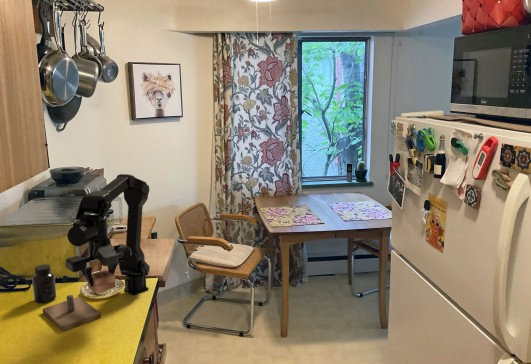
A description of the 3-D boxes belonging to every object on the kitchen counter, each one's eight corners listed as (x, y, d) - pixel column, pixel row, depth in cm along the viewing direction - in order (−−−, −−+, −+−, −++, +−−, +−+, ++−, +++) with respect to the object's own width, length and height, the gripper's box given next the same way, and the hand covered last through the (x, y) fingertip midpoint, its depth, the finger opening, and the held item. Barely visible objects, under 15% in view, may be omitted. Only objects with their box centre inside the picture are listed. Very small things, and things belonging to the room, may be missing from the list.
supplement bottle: (30, 301, 152) (26, 268, 150) (47, 293, 158) (44, 261, 156) (43, 306, 149) (39, 272, 147) (61, 297, 155) (57, 265, 153)
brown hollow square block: (106, 281, 143) (105, 269, 142) (115, 286, 139) (114, 274, 138) (88, 287, 139) (87, 275, 138) (97, 293, 135) (96, 280, 134)
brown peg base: (79, 300, 153) (78, 282, 152) (101, 317, 142) (99, 298, 141) (42, 312, 145) (40, 294, 144) (62, 331, 134) (60, 311, 132)
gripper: (78, 249, 124) (83, 301, 127) (139, 234, 137) (142, 281, 140) (62, 240, 131) (66, 289, 134) (120, 226, 144) (123, 271, 147)
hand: (101, 283), depth 139 cm, fingers closed on brown hollow square block, 6 cm apart
